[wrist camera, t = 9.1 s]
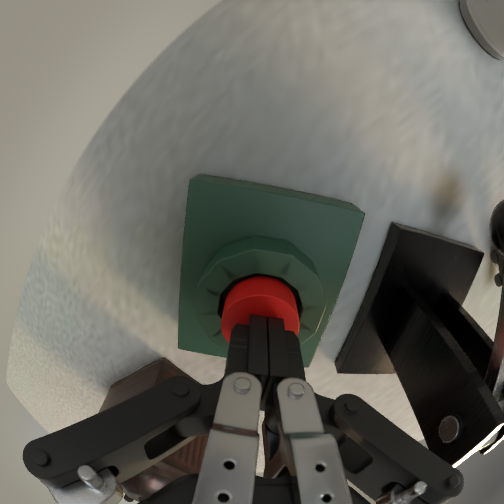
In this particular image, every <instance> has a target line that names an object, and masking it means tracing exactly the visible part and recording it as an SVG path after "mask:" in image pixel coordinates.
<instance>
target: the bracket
mask: <svg viewBox="0 0 504 504" xmlns="http://www.w3.org/2000/svg"><path fill="white" fill-rule="evenodd" d="M483 256H484V253H483V252H482V251H480V250H479V249H477V248H476V247H473V246H470V245H467V244H464V243H461V242H458V241H454V240H451V239H448V238H445V237H442V236H438V235H435V234H432V233H429V232H425V231H422V230H418V229H415V228H411V227H408V226H404V225H401V224H397V223H393V222H392V224H391V227H390V231H389V234H388V237H387V240H386V243H385V246H384V249H383V252H382V255H381V257H380V260H379V263H378V266H377V268H376V271H375V274H374V276H373V279H372V282H371V284H370V287H369V289H368V292H367V294H366V297H365V299H364V301H363V304H362V306H361V309H360V311H359V313H358V315H357V318H356V320H355V322H354V324H353V327H352V329H351V331H350V333H349V335H348V337H347V340H346V342H345V344H344V346H343V348H342V350H341V352H340V354H339V356H338V358H337V360H336V362H335V366H336V369H337V373H343V374H392V373H397V376H398V378H399V380H400V382H401V384H402V386H403V389H404V391H405V393H406V395H407V397H408V400H409V402H410V404H411V407H412V409H413V411H414V414H415V416H416V418H417V421H418V423H419V426H420V428H421V431H422V433H423V436H424V438H425V441H426V443H427V446H428V449H429V450H430V451H431V452H433V453H434V454H436V455H437V456H438V457H440V458H441V459H443V460H444V461H446V462H447V463H449V464H450V465H451V466H453V467H454V468H455V467H456V466H457V465H459V464H460V463H461V462H462V461H464V460H465V459H466V458H468V457H469V456H470V455H471V454H472V453H474V452H475V451H476V450H477V449H478V448H480V447H481V446H482V445H483V444H484V443H485V442H486V441H487V440H489V439H490V438H491V437H492V436H493V435H494V434H495V433H496V432H497V431H498V430H499V429H500V431H499V433H498V435H497V437H496V439H495V441H494V442H493V443H491V444H489V445H487V446H486V447H484V448H482V449H480V450H479V451H480V454H481V455H483V454H485V453H487V452H489V451H490V450H491V449H492V448H494V447H495V446H496V445H497V444H498V443H499V442H500V441H501V440H502V439H503V438H504V412H503V411H502V409H501V407H500V406H499V404H498V402H497V400H496V399H495V397H494V396H493V394H492V392H491V391H490V389H489V388H488V386H487V384H486V383H485V381H484V378H485V375H486V371H487V368H488V364H489V360H490V356H491V352H492V348H493V343H494V342H493V341H492V340H491V339H490V337H489V336H488V335H487V334H486V333H485V332H484V330H483V329H482V328H481V327H480V326H479V325H478V324H477V322H476V321H475V320H474V319H473V318H472V317H471V316H470V315H469V314H468V312H467V311H466V310H465V309H464V308H463V307H462V304H463V302H464V300H465V298H466V296H467V294H468V291H469V289H470V287H471V285H472V283H473V280H474V278H475V276H476V273H477V271H478V269H479V266H480V264H481V261H482V259H483ZM502 392H503V393H504V386H503V389H502Z"/></svg>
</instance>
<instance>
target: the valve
mask: <svg viewBox="0 0 504 504" xmlns="http://www.w3.org/2000/svg"><path fill="white" fill-rule="evenodd" d="M490 256H491V260H492V262H493V263H495V264H498V266H499V271H500V272H499V273H498V274H496V275H495V278H494V280H495V283H496V285H497V286H498V287H500V286H502V283H503V268H504V256H503V255H502V254H501V253H500V252H499V251H498V250H497V249H495V250H493V251H492V252H491V255H490Z"/></svg>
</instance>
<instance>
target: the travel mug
mask: <svg viewBox="0 0 504 504" xmlns="http://www.w3.org/2000/svg"><path fill="white" fill-rule="evenodd" d="M460 10H461V13H462V16H463V18H464V20H465V22H466V24H467V26H468V28H469V30H470V31H471V33H472V34H473V36H474V37H475V39H476V40H477V41H478V42H479V44H480V45H481V46H482V47H483V48H484V49H485V50H486V51H487V52H488V53H489V54H490V55H492V56H494V57H495V58H497V59H500V60H504V0H460Z"/></svg>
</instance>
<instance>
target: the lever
mask: <svg viewBox="0 0 504 504" xmlns="http://www.w3.org/2000/svg"><path fill="white" fill-rule="evenodd" d="M490 234H491V239H492V241H493V244H494V246H495V247H496V249H497V250H498V251H499V252H500V253H501V254H502V255H503V256H504V200H502V201H501V202H500V203H499V204H498V205H497V206H496V207H495V209H494V211H493V213H492V216H491V219H490ZM484 381H485V383H486V384H487V386H488V388H489V389H490V391H491V392H492V394H493V396H494V397H495V399H496V400H497V402H498V404H499V406H500V407H501V409H502V411H503V412H504V393H503V392H502V389H503V386H504V268H503V283H502V294H501V302H500V310H499V317H498V323H497V328H496V334H495V339H494V343H493V348H492V352H491V356H490V360H489V364H488V368H487V371H486V375H485V378H484ZM499 431H500V429H499V430H498V431H497V432H496V433H495V434H494V435H493V436H492V437H491V438H490V439H489V440H487V441H486V442H485V443H484V444H483V445H482V446H481V447H480V448H478V449H477V450H476V451H478V450H480V449H482V448H484V447H486V446H487V445H489V444H491V443H493V442H494V441H495V439H496V437H497V435H498V433H499ZM476 451H475V452H476Z"/></svg>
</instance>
